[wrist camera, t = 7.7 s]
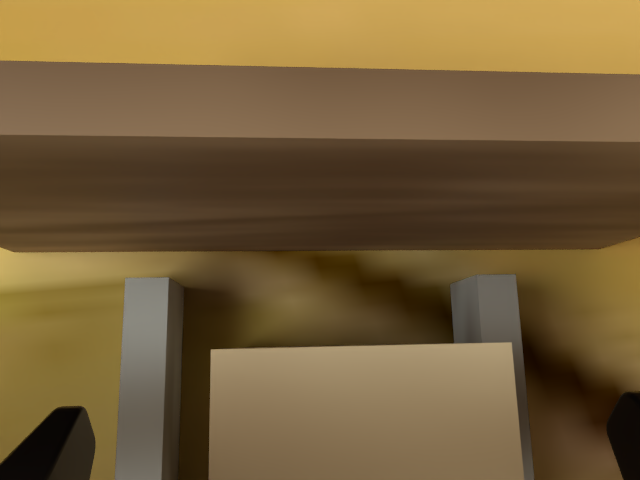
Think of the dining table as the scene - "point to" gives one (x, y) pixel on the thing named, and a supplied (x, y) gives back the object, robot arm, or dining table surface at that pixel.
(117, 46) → the dining table surface
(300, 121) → the grey frame stand
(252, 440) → the cabinet block
